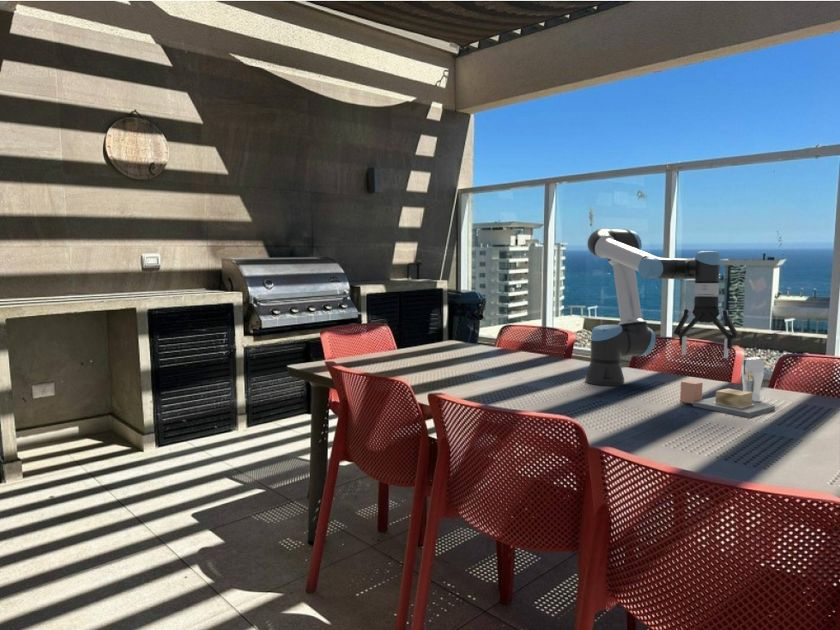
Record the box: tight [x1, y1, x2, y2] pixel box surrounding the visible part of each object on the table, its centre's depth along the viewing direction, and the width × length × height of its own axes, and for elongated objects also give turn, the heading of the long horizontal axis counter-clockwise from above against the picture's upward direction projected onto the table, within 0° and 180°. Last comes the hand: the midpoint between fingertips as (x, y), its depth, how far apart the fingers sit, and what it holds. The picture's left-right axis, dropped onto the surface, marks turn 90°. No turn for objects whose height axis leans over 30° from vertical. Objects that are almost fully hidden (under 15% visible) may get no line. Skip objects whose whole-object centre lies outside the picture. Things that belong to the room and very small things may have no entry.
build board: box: [692, 396, 776, 419], centre depth 189 cm, size 18×18×2 cm
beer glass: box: [740, 356, 765, 403], centre depth 202 cm, size 7×7×15 cm
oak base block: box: [715, 388, 752, 407], centre depth 189 cm, size 8×8×4 cm
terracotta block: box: [679, 379, 703, 405], centre depth 198 cm, size 5×5×7 cm
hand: (704, 356), depth 199 cm, fingers open, 13 cm apart
